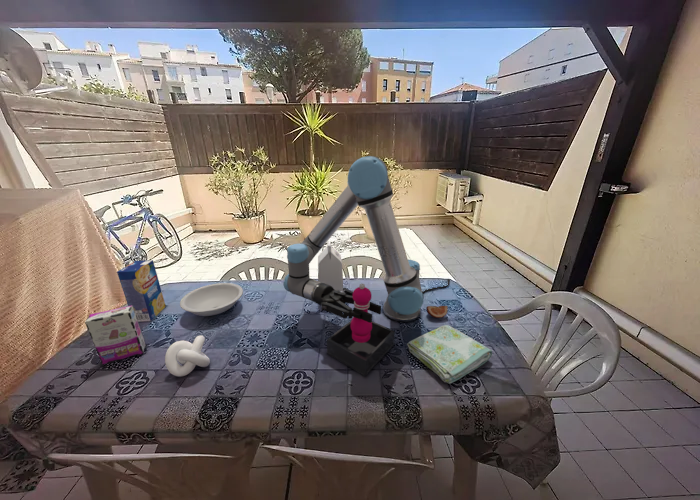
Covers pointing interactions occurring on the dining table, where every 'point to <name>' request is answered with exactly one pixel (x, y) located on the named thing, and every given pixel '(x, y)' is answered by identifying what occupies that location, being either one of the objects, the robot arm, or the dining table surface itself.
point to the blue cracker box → (142, 289)
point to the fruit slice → (437, 311)
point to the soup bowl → (211, 299)
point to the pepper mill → (358, 325)
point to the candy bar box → (116, 334)
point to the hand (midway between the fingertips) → (375, 314)
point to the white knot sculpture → (186, 356)
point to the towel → (449, 353)
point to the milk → (330, 268)
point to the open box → (360, 347)
